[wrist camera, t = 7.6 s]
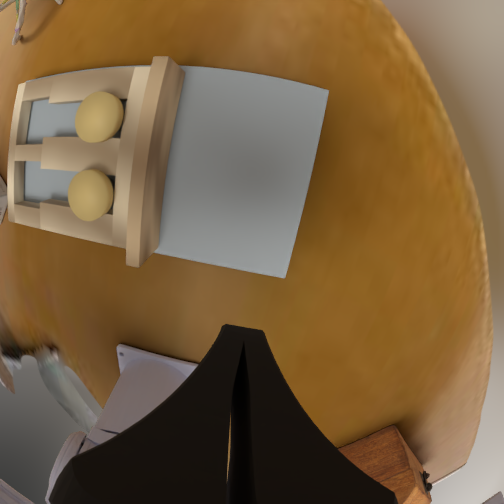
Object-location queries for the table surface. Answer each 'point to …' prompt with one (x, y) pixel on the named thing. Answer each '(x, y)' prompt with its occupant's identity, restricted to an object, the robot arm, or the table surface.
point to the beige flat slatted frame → (103, 154)
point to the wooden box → (391, 465)
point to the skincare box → (3, 199)
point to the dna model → (19, 16)
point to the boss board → (203, 165)
